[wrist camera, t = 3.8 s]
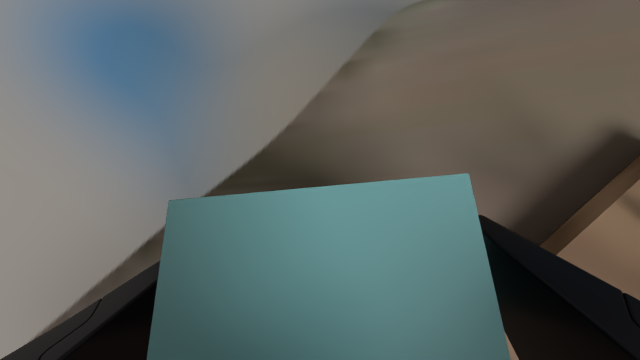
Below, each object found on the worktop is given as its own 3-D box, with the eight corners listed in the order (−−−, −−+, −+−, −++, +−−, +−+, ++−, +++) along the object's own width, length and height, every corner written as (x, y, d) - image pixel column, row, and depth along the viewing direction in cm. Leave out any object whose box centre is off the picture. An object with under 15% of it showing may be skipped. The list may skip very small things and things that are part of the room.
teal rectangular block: (408, 288, 14) (519, 398, 4) (298, 289, 15) (142, 376, 5) (400, 226, 15) (468, 173, 5) (297, 232, 16) (166, 200, 6)
